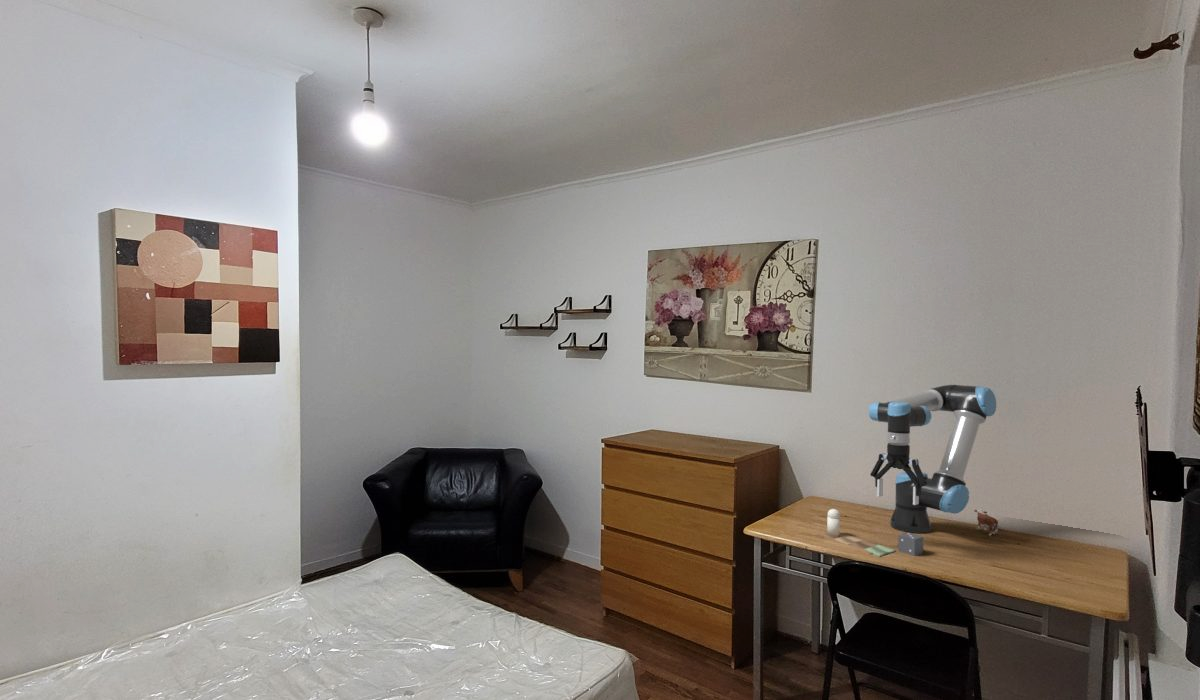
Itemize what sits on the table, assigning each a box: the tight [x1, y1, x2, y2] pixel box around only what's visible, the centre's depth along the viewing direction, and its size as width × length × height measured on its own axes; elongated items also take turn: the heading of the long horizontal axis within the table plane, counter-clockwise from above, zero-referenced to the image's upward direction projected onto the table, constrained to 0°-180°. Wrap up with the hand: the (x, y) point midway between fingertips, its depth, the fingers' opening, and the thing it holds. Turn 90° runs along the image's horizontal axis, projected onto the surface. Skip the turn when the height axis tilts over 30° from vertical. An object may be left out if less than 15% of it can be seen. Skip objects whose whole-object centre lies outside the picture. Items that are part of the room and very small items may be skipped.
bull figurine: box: [974, 508, 999, 536], centre depth 244 cm, size 4×13×8 cm, turn 174°
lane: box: [818, 532, 896, 557], centre depth 228 cm, size 10×26×1 cm, turn 33°
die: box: [897, 532, 924, 557], centre depth 219 cm, size 6×6×6 cm
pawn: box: [826, 508, 841, 537], centre depth 236 cm, size 5×5×10 cm
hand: (897, 500), depth 222 cm, fingers open, 13 cm apart
